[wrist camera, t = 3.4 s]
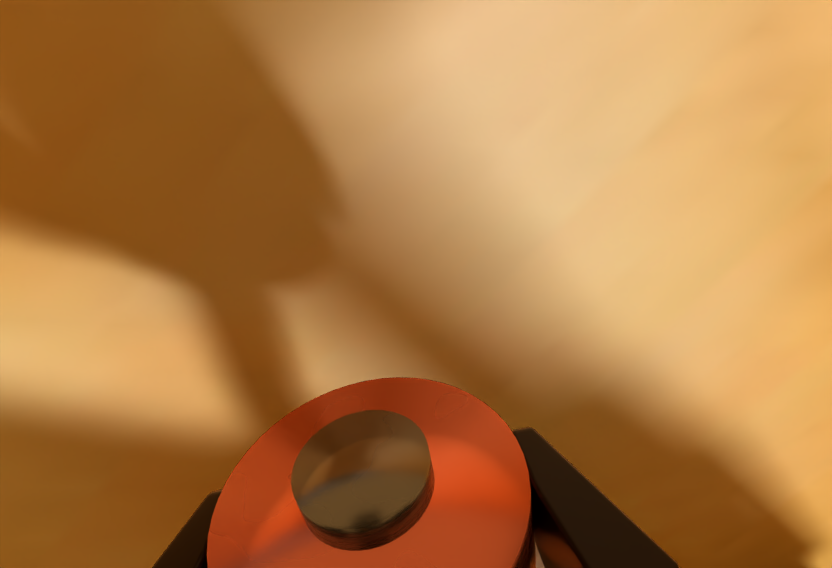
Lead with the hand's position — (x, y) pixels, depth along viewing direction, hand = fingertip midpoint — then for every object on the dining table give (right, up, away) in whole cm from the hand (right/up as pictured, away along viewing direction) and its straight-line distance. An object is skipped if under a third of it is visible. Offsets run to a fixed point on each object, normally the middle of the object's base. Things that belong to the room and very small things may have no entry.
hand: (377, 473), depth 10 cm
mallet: (+1, -5, +5) cm, 7 cm away
